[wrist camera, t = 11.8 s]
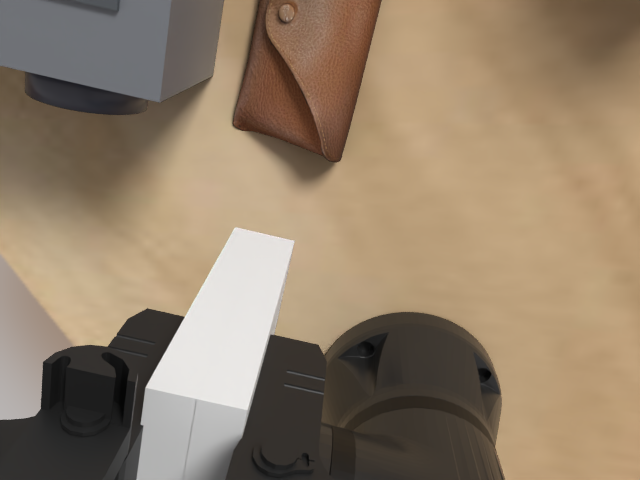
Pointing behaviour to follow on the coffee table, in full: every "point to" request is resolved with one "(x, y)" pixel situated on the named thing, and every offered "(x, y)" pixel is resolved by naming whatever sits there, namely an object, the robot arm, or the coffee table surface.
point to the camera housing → (109, 50)
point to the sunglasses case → (306, 71)
